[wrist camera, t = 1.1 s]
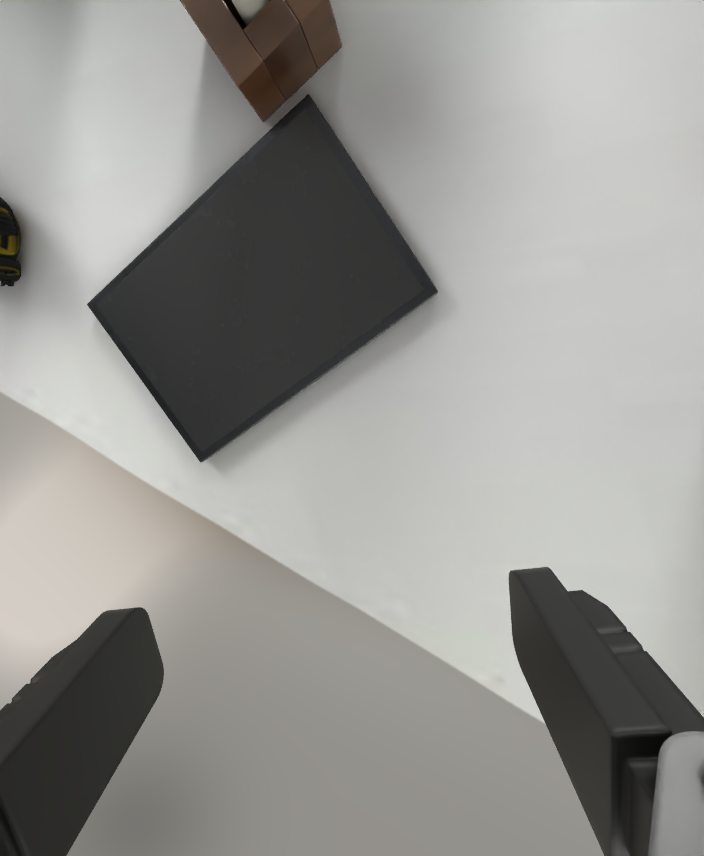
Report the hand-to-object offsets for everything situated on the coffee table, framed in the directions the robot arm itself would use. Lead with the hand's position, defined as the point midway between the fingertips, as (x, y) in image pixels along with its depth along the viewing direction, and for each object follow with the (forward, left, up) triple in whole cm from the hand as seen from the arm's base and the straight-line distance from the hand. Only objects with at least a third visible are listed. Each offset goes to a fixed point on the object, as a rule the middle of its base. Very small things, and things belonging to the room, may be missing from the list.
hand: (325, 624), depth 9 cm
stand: (-26, +8, -22) cm, 35 cm away
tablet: (-14, -3, -22) cm, 26 cm away
